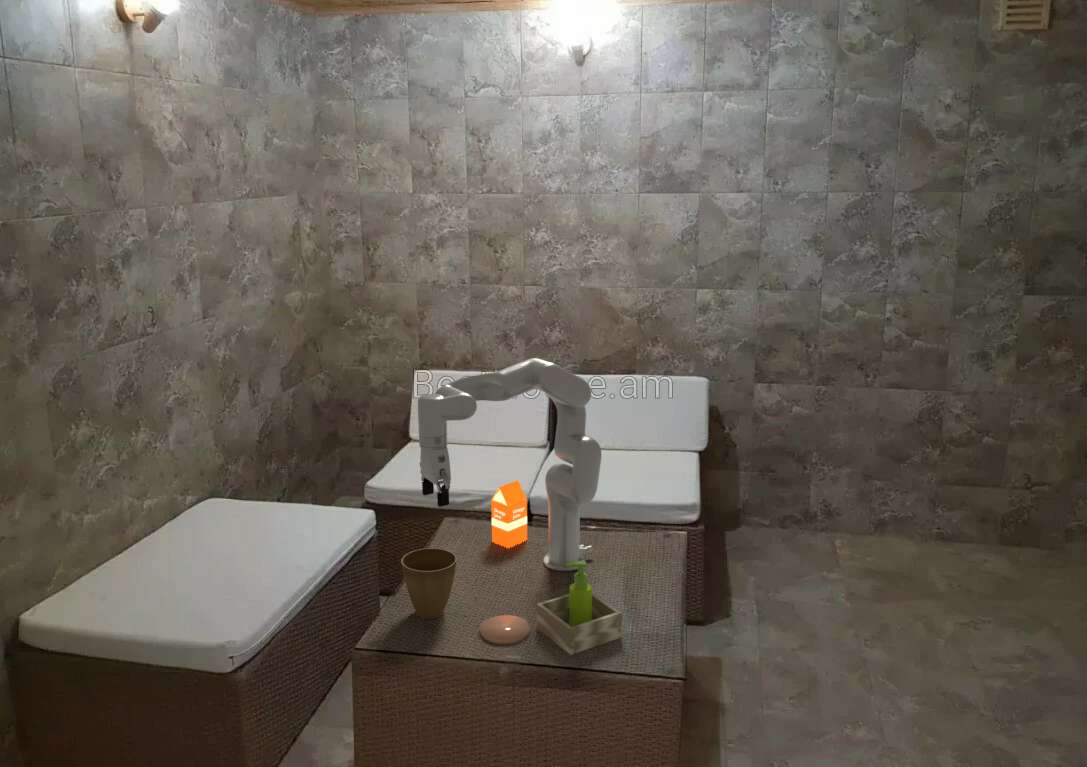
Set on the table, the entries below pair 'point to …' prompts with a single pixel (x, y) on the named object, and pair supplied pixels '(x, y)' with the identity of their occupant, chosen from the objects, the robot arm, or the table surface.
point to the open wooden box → (583, 635)
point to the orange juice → (509, 515)
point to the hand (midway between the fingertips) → (435, 499)
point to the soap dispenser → (580, 596)
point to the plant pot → (429, 579)
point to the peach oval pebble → (505, 629)
